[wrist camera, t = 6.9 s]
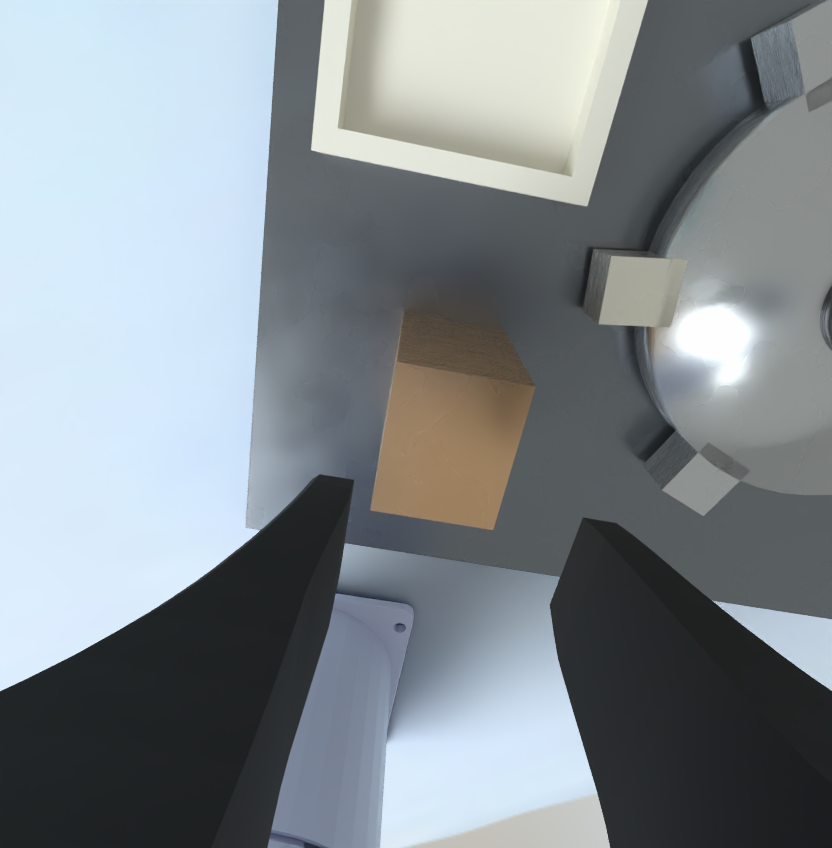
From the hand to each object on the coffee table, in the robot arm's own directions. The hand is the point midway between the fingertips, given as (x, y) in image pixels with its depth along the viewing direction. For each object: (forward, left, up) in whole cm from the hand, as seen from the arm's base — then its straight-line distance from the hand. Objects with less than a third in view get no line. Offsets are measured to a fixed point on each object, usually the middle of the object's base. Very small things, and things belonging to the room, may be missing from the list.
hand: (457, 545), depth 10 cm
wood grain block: (0, 0, -9) cm, 9 cm away
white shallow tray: (+10, +1, -9) cm, 13 cm away
